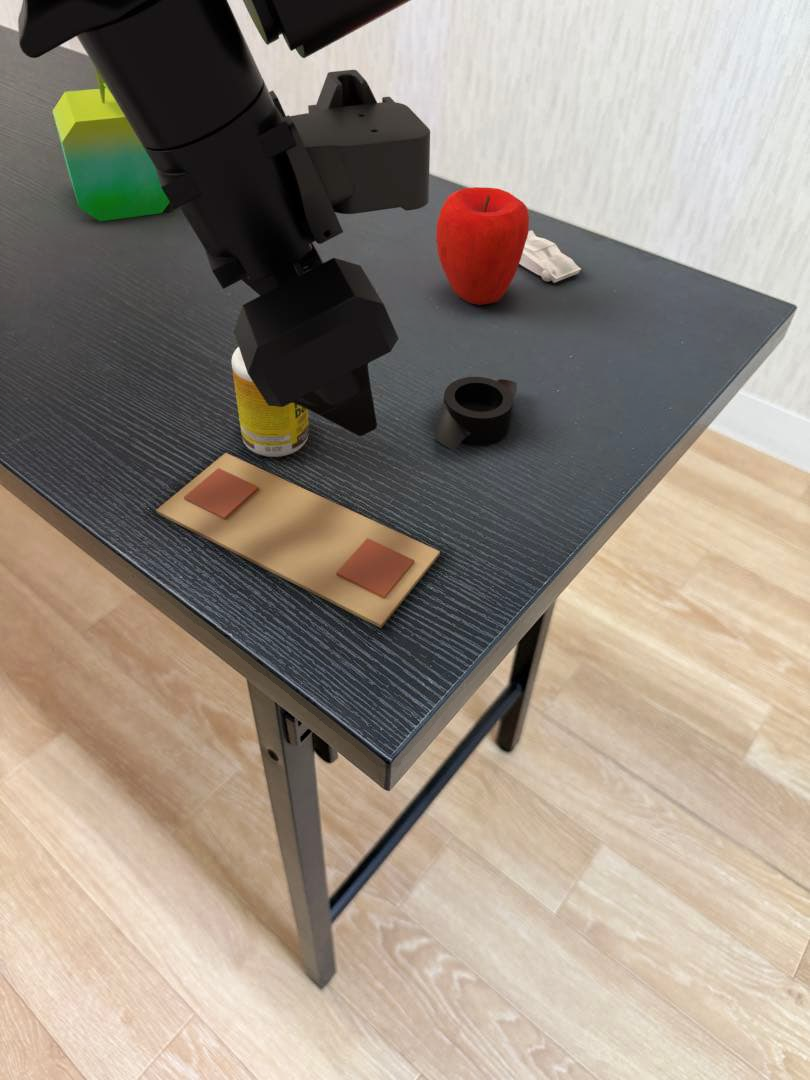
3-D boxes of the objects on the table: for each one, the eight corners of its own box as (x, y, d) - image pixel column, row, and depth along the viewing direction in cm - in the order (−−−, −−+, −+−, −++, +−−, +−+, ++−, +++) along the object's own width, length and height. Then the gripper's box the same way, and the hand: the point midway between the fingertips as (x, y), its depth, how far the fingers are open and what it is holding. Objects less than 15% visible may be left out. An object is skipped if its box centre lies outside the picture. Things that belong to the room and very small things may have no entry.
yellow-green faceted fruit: (83, 223, 93) (45, 80, 82) (72, 189, 99) (36, 51, 88) (177, 210, 96) (153, 70, 85) (161, 178, 102) (137, 44, 91)
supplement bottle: (307, 461, 65) (300, 352, 58) (238, 460, 65) (222, 351, 58) (311, 418, 69) (305, 311, 62) (246, 417, 69) (232, 310, 62)
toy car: (531, 247, 92) (534, 228, 91) (582, 276, 88) (586, 256, 86) (501, 258, 90) (504, 239, 89) (552, 288, 86) (555, 268, 84)
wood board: (156, 513, 61) (155, 507, 60) (226, 456, 65) (225, 449, 65) (381, 628, 54) (381, 622, 53) (439, 554, 59) (440, 548, 58)
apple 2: (418, 303, 83) (423, 198, 75) (457, 268, 88) (466, 167, 81) (495, 328, 80) (509, 222, 72) (531, 292, 85) (548, 189, 78)
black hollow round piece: (548, 439, 68) (553, 411, 66) (440, 465, 65) (442, 437, 63) (506, 388, 73) (510, 361, 71) (404, 410, 70) (406, 382, 68)
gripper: (455, 90, 27) (545, 413, 39) (319, -32, 39) (419, 241, 51) (161, 245, 27) (338, 517, 39) (118, 76, 40) (263, 322, 51)
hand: (344, 381), depth 45 cm, fingers open, 9 cm apart
